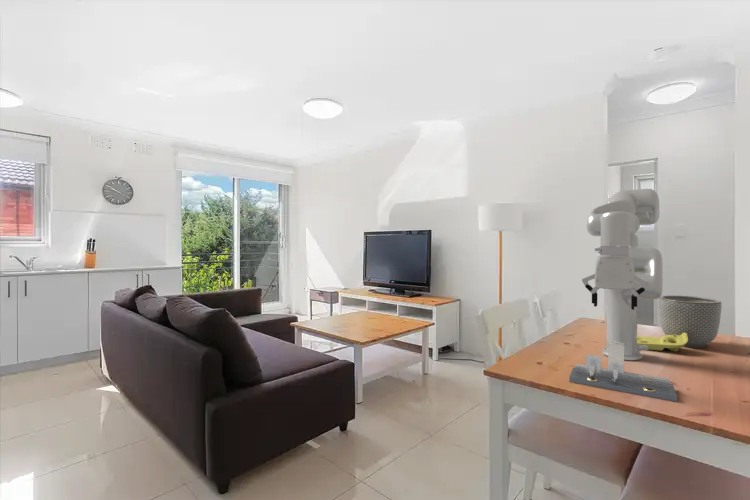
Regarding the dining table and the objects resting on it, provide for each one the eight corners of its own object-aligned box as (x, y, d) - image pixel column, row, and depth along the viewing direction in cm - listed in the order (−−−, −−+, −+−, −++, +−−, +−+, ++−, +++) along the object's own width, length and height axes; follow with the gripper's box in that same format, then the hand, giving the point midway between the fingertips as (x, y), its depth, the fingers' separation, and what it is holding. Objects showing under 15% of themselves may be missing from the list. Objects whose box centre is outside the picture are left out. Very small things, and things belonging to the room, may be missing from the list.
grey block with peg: (607, 380, 110) (607, 346, 110) (608, 372, 117) (608, 340, 116) (623, 383, 108) (624, 349, 108) (623, 375, 115) (624, 342, 114)
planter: (714, 342, 156) (715, 297, 156) (726, 354, 140) (727, 304, 139) (655, 335, 167) (656, 293, 166) (660, 346, 150) (661, 300, 150)
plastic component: (625, 342, 149) (625, 327, 157) (627, 356, 152) (626, 341, 159) (689, 346, 138) (686, 329, 145) (690, 362, 140) (686, 344, 148)
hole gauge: (569, 381, 115) (569, 359, 115) (573, 371, 123) (573, 351, 123) (676, 401, 100) (677, 376, 100) (672, 389, 109) (673, 365, 109)
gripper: (581, 251, 115) (580, 306, 116) (650, 252, 106) (649, 312, 106) (583, 251, 122) (582, 303, 122) (648, 252, 112) (648, 308, 112)
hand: (613, 307), depth 114 cm, fingers open, 9 cm apart
